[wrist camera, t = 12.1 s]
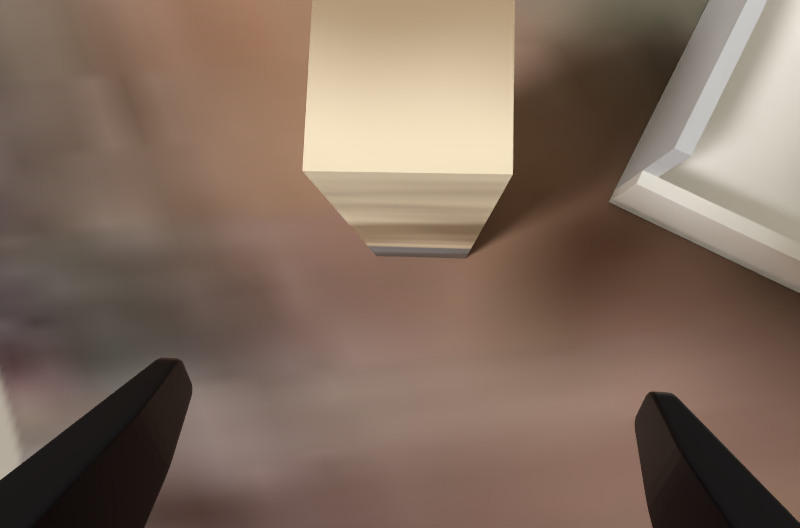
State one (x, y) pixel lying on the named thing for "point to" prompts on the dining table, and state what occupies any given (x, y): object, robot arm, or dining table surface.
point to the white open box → (728, 141)
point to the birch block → (411, 118)
